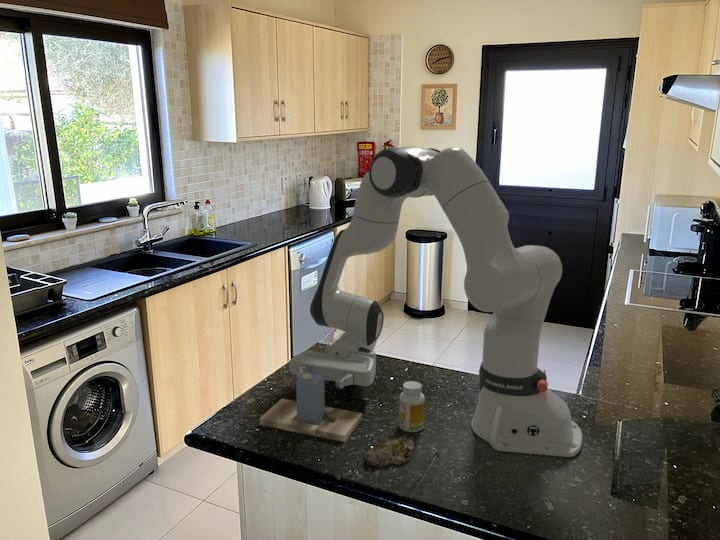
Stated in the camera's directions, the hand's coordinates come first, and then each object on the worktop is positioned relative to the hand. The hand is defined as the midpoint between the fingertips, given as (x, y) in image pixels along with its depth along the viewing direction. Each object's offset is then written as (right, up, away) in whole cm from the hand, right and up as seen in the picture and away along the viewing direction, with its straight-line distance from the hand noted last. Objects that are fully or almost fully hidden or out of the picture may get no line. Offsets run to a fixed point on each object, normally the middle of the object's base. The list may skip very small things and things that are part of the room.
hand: (318, 382), depth 129 cm
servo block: (-1, -8, -2) cm, 9 cm away
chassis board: (-1, -8, -2) cm, 9 cm away
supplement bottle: (+20, -9, -4) cm, 23 cm away
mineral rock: (+15, -12, -15) cm, 24 cm away
